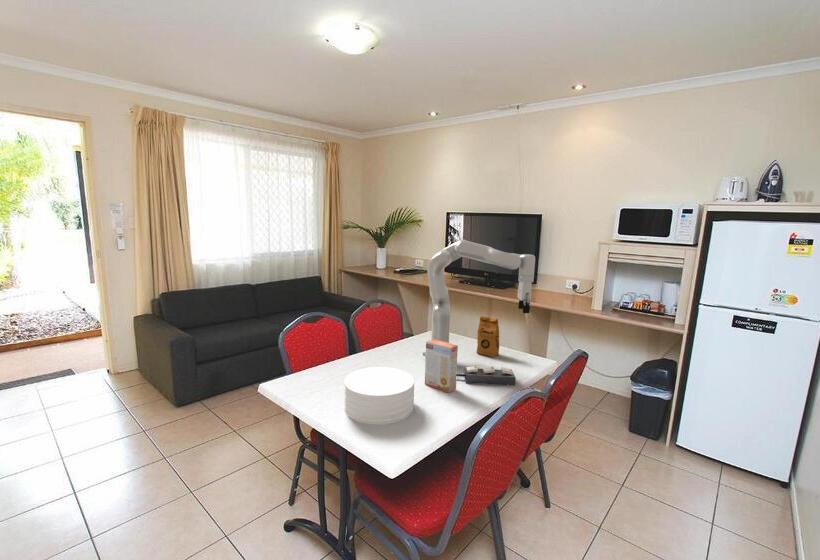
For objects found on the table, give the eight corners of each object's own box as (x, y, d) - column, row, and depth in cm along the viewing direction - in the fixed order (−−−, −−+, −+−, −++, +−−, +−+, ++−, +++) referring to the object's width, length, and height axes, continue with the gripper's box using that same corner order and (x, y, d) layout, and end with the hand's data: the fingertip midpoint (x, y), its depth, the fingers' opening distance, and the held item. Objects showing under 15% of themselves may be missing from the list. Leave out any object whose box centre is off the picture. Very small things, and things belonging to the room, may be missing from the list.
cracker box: (456, 389, 174) (458, 344, 171) (448, 393, 170) (450, 347, 167) (432, 380, 183) (433, 338, 180) (424, 384, 179) (425, 340, 176)
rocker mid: (484, 373, 183) (484, 370, 182) (483, 370, 187) (482, 367, 186) (495, 371, 182) (494, 369, 182) (493, 368, 186) (493, 366, 186)
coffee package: (493, 359, 215) (496, 320, 211) (474, 354, 222) (475, 317, 219) (501, 354, 222) (503, 317, 219) (482, 349, 230) (484, 314, 227)
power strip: (452, 382, 182) (453, 372, 181) (451, 375, 191) (452, 365, 190) (515, 385, 180) (515, 375, 179) (511, 378, 189) (512, 368, 188)
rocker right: (502, 372, 182) (503, 369, 182) (500, 369, 186) (501, 366, 186) (512, 374, 182) (513, 372, 182) (511, 371, 186) (511, 369, 186)
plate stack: (391, 387, 176) (392, 362, 174) (427, 413, 152) (428, 385, 151) (333, 400, 161) (333, 374, 159) (362, 432, 137) (363, 402, 136)
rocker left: (467, 372, 183) (467, 370, 183) (466, 369, 187) (466, 366, 187) (477, 371, 183) (477, 368, 182) (477, 367, 187) (476, 365, 186)
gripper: (514, 275, 207) (512, 307, 209) (522, 280, 190) (520, 314, 192) (529, 276, 207) (526, 307, 209) (538, 281, 189) (535, 315, 192)
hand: (523, 310), depth 201 cm, fingers open, 9 cm apart
